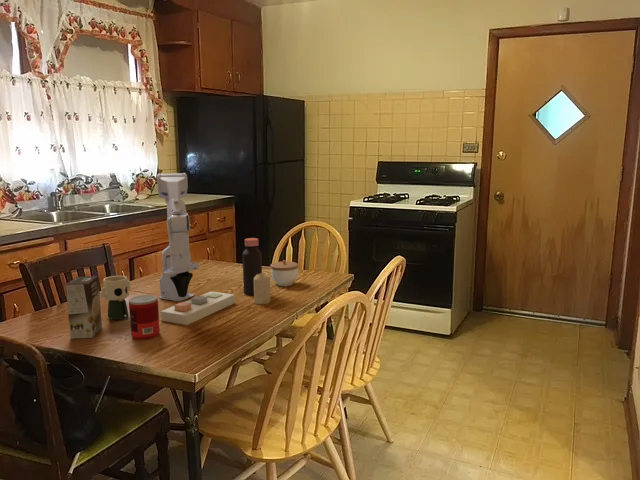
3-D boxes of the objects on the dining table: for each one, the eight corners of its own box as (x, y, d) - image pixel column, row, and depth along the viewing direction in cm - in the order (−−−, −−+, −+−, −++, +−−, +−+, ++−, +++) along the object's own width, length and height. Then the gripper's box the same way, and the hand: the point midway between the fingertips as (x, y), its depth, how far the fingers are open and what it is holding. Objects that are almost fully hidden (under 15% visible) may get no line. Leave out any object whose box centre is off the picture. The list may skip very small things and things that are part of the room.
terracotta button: (174, 313, 174) (174, 304, 173) (182, 310, 177) (182, 301, 176) (184, 315, 172) (183, 306, 172) (191, 311, 175) (191, 303, 175)
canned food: (165, 332, 163) (163, 295, 161) (148, 341, 156) (145, 303, 153) (143, 329, 165) (140, 293, 163) (125, 338, 158) (122, 301, 156)
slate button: (191, 306, 181) (191, 298, 180) (198, 303, 184) (198, 295, 184) (200, 308, 179) (200, 299, 179) (207, 305, 182) (207, 296, 182)
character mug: (112, 325, 169) (108, 283, 167) (96, 321, 173) (92, 280, 171) (139, 315, 179) (136, 275, 176) (124, 311, 182) (121, 273, 180)
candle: (267, 304, 188) (267, 276, 187) (252, 304, 190) (251, 275, 188) (272, 300, 194) (271, 272, 192) (257, 299, 195) (256, 271, 193)
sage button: (207, 303, 188) (206, 295, 188) (213, 301, 191) (213, 293, 191) (215, 305, 187) (215, 297, 186) (222, 302, 190) (221, 294, 189)
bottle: (240, 294, 201) (238, 240, 197) (249, 290, 207) (247, 237, 203) (256, 296, 198) (255, 241, 195) (265, 291, 204) (264, 238, 201)
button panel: (161, 320, 173) (160, 311, 173) (211, 299, 195) (210, 291, 195) (186, 325, 169) (186, 315, 168) (234, 303, 191) (234, 294, 190)
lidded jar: (304, 282, 217) (303, 259, 215) (287, 289, 208) (287, 264, 206) (281, 279, 222) (281, 256, 220) (265, 285, 213) (264, 261, 212)
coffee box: (93, 338, 158) (88, 283, 155) (69, 339, 158) (64, 284, 155) (102, 327, 167) (98, 275, 164) (80, 328, 167) (76, 276, 164)
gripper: (174, 259, 163) (176, 304, 165) (205, 250, 176) (207, 292, 178) (155, 257, 166) (158, 301, 169) (187, 248, 179) (189, 289, 181)
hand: (182, 296), depth 174 cm, fingers closed
